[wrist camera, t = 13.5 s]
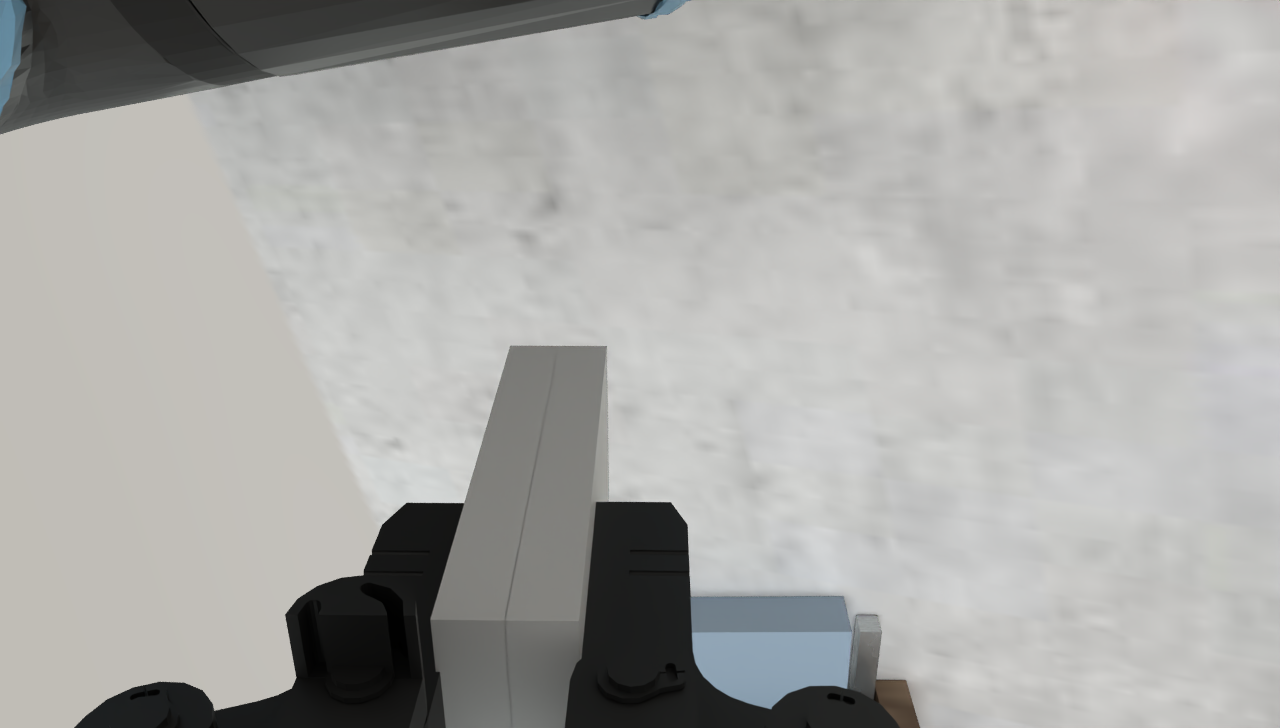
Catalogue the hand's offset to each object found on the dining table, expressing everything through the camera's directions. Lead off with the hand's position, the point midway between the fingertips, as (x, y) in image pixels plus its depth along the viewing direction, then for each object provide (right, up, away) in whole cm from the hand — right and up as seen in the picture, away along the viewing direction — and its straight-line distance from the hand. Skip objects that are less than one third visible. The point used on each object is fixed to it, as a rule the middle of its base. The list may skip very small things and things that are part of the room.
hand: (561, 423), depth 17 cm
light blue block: (+6, -14, +37) cm, 40 cm away
